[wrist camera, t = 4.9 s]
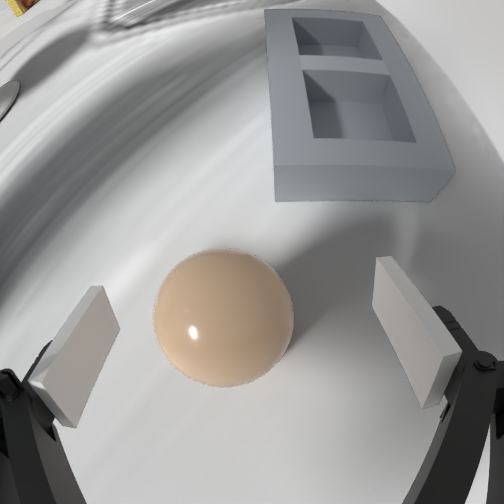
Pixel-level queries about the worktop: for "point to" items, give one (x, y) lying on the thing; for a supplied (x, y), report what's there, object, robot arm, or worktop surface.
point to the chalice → (8, 95)
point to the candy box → (20, 6)
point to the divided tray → (348, 112)
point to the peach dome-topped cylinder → (223, 317)
